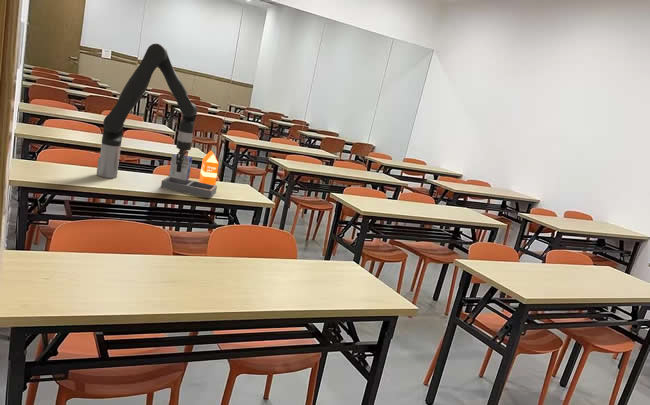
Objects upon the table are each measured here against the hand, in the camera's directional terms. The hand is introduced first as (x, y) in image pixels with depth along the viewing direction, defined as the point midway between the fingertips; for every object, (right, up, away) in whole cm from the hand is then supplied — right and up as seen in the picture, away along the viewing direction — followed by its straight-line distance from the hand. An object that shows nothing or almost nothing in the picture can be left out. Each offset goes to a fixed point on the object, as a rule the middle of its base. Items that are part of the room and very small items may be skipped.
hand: (180, 170), depth 263 cm
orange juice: (+9, -7, +22) cm, 25 cm away
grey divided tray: (+4, -10, +2) cm, 12 cm away
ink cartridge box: (-1, -4, +1) cm, 4 cm away
